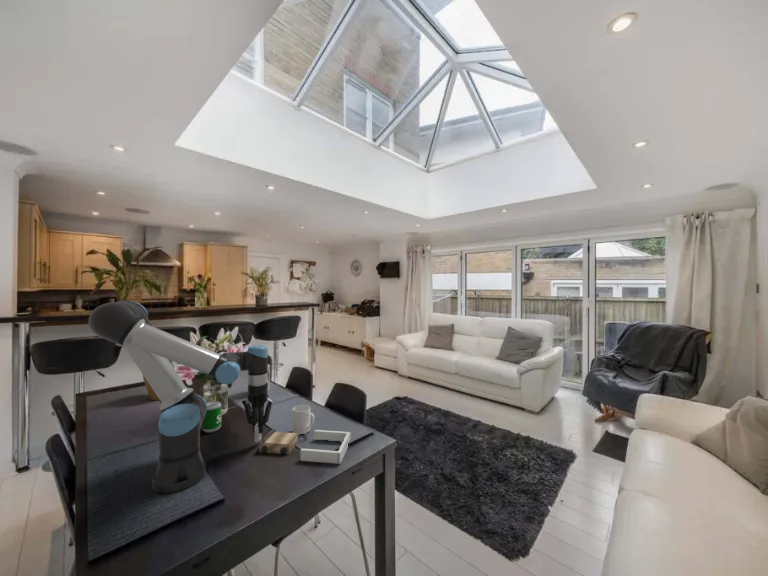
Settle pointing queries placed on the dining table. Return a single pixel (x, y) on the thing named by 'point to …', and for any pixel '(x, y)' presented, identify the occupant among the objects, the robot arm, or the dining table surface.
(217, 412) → the soda can
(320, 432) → the bay
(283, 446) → the trolley
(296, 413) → the mug
